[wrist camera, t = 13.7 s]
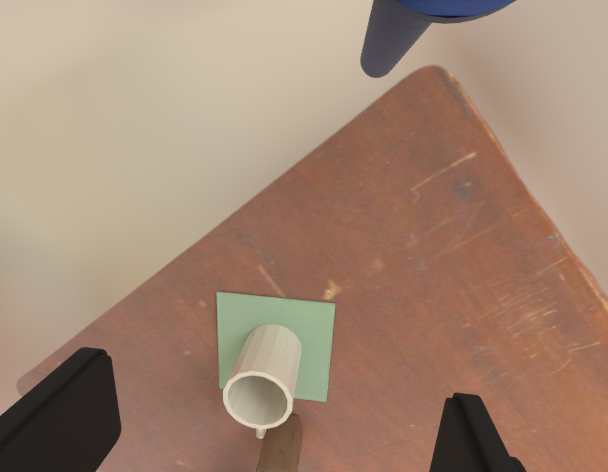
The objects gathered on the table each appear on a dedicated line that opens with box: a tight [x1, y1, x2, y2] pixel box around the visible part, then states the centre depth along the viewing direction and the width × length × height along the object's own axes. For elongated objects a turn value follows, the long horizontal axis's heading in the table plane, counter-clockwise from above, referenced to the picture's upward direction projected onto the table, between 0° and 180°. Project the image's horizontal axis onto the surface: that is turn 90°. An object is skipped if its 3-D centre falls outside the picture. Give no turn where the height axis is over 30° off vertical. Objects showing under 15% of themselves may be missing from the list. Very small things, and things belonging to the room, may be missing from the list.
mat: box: [217, 291, 335, 402], centre depth 43 cm, size 14×14×1 cm
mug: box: [223, 324, 302, 439], centre depth 39 cm, size 10×7×8 cm
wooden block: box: [256, 415, 302, 472], centre depth 43 cm, size 4×4×8 cm
